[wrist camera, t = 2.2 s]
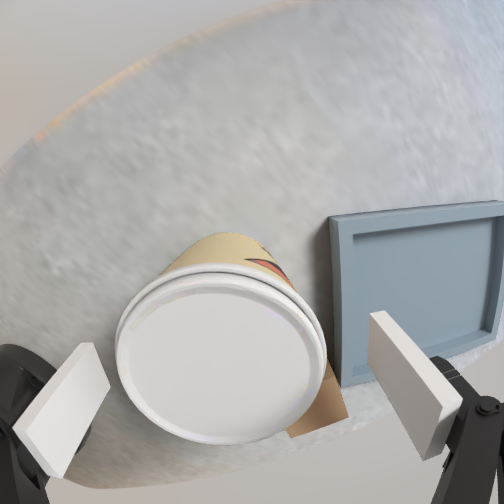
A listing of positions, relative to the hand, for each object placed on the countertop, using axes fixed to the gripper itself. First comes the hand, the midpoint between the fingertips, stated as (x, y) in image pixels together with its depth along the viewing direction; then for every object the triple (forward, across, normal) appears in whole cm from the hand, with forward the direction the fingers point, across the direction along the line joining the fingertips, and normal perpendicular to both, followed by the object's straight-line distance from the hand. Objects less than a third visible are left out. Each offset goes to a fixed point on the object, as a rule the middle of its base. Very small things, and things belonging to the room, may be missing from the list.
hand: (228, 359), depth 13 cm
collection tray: (+11, +16, -3) cm, 20 cm away
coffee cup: (+11, -1, 0) cm, 11 cm away
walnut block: (+11, +4, -10) cm, 15 cm away
